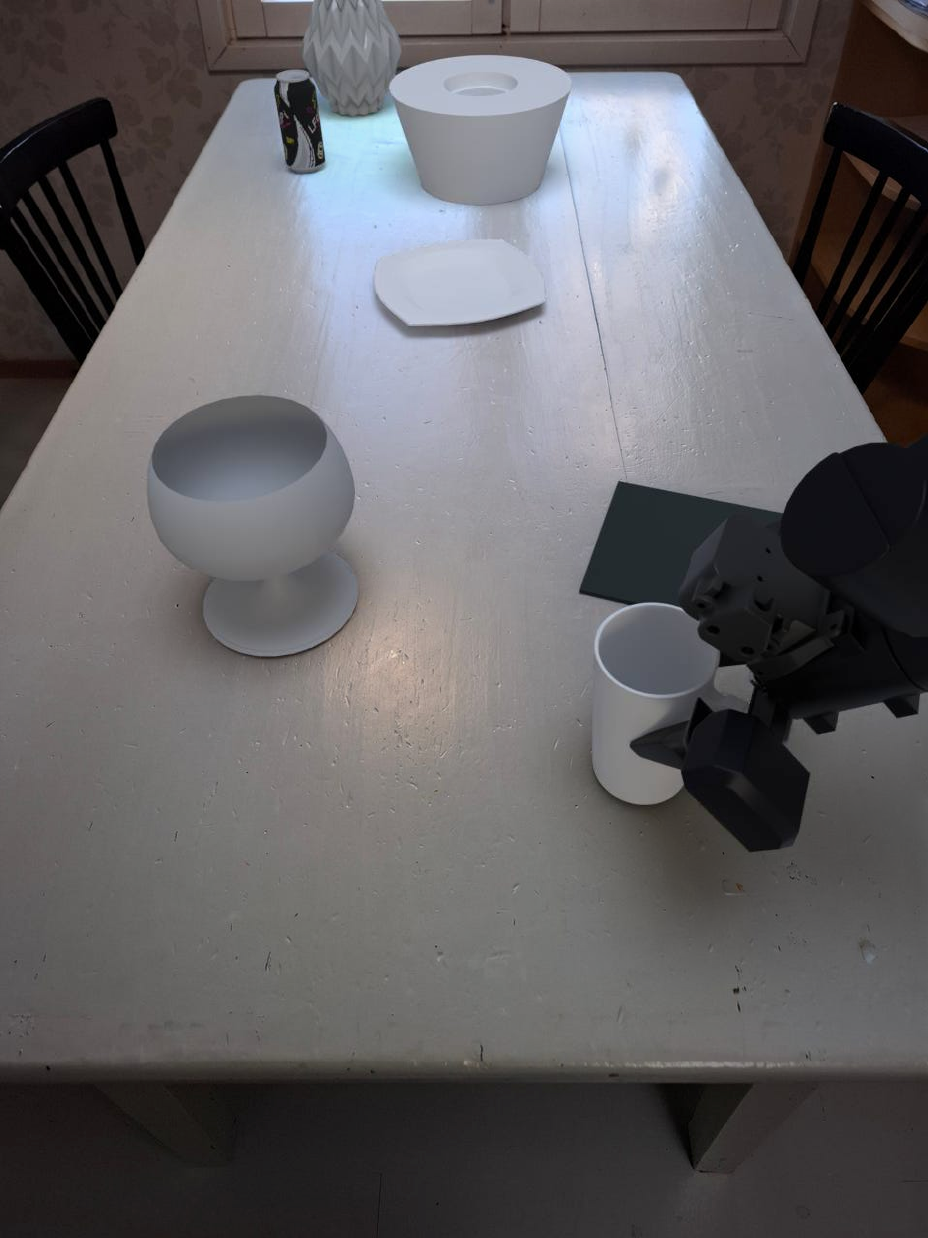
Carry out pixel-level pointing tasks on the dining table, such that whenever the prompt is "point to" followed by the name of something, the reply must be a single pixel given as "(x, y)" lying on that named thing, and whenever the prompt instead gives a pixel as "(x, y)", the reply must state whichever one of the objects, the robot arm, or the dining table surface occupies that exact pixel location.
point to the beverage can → (299, 121)
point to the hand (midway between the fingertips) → (650, 704)
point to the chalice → (258, 519)
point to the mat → (654, 542)
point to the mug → (647, 694)
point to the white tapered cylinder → (481, 124)
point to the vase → (351, 53)
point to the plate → (458, 282)
